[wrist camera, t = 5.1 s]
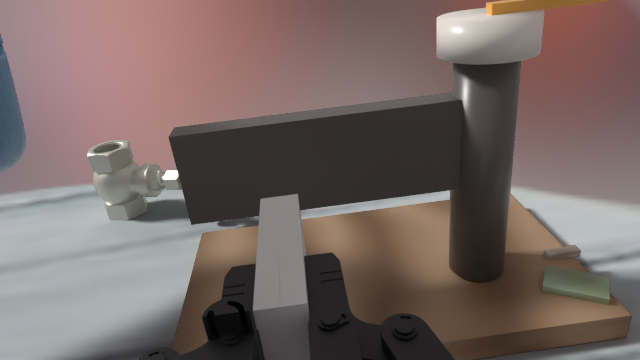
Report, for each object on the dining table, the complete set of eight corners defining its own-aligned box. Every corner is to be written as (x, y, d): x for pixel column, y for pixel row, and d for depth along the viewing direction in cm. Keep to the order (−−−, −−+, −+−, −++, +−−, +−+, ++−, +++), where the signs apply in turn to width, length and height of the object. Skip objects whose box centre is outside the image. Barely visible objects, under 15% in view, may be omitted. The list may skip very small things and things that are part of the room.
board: (169, 403, 24) (160, 377, 23) (206, 249, 36) (201, 228, 36) (634, 336, 25) (641, 307, 24) (512, 207, 37) (514, 186, 36)
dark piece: (209, 329, 26) (134, 54, 19) (219, 276, 30) (160, 36, 24) (588, 275, 27) (640, -8, 20) (544, 231, 31) (575, -14, 24)
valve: (88, 231, 41) (213, 233, 39) (62, 163, 38) (196, 160, 36) (128, 195, 47) (240, 195, 45) (109, 134, 44) (227, 130, 42)
